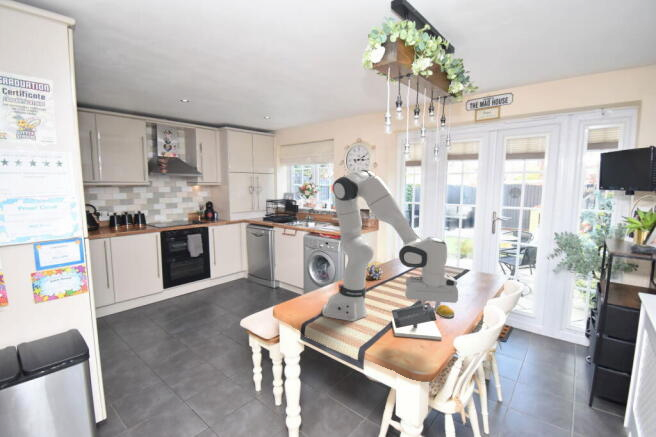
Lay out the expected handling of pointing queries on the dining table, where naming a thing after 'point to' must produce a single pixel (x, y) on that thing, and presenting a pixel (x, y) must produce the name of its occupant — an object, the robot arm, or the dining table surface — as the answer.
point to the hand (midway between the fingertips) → (429, 310)
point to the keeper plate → (418, 330)
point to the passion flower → (375, 271)
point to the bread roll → (445, 311)
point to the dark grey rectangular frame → (413, 315)
